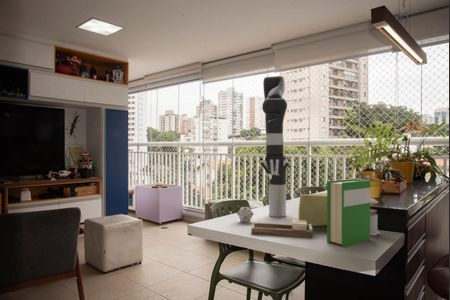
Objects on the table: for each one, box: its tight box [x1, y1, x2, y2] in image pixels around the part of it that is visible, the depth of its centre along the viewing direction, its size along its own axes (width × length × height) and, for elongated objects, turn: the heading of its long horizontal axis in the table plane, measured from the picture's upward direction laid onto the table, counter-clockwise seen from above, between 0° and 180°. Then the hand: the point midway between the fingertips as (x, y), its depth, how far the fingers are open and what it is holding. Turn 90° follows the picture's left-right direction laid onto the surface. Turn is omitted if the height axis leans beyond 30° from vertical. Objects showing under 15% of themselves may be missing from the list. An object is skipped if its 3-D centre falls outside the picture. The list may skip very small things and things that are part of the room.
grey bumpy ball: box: [236, 205, 254, 223], centre depth 158 cm, size 9×8×10 cm
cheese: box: [298, 192, 327, 227], centre depth 152 cm, size 22×10×15 cm, turn 110°
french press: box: [365, 175, 381, 236], centre depth 140 cm, size 10×12×25 cm
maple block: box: [291, 219, 307, 231], centre depth 136 cm, size 6×6×4 cm
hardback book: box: [326, 178, 371, 248], centre depth 125 cm, size 18×7×24 cm, turn 125°
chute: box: [250, 222, 314, 238], centre depth 137 cm, size 10×25×4 cm, turn 78°
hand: (274, 183), depth 139 cm, fingers closed
